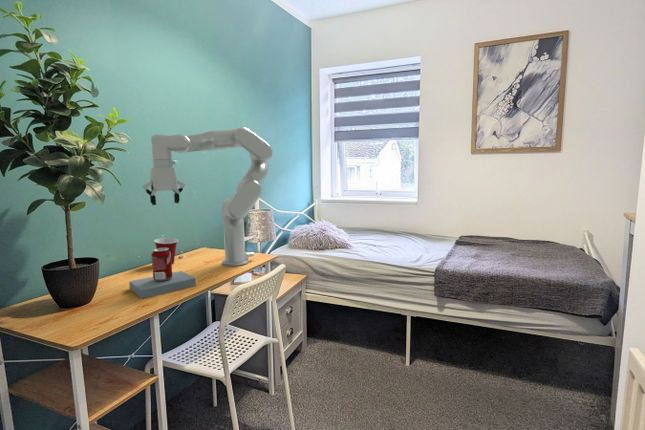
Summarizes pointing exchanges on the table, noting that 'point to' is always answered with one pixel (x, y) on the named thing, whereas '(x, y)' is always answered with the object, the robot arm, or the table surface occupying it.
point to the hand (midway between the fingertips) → (165, 203)
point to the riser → (162, 284)
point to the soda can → (161, 264)
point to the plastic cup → (167, 245)
